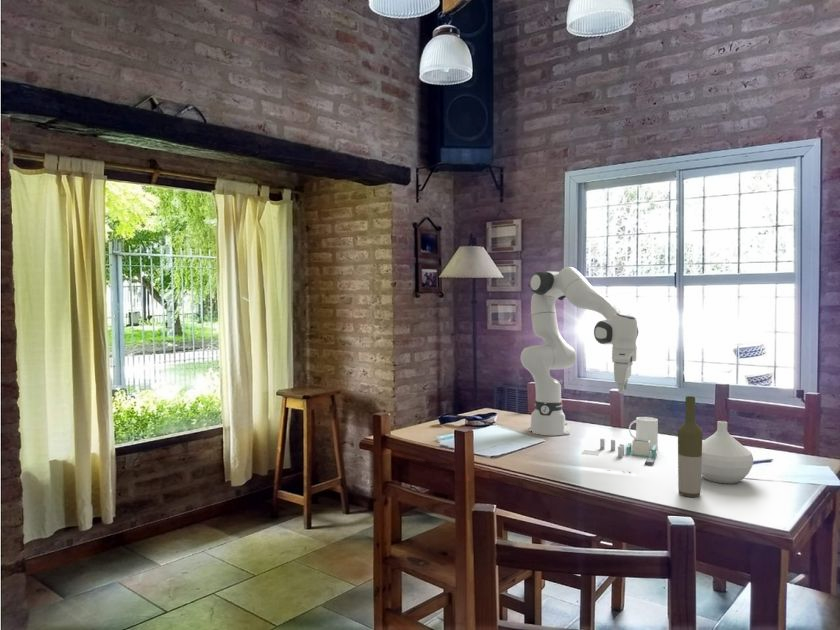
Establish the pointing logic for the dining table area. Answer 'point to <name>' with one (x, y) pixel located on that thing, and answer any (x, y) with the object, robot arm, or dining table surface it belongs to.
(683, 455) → the bottle
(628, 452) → the end holder
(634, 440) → the box
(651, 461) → the board
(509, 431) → the dining table surface
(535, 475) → the dining table surface
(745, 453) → the vase
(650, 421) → the mug
